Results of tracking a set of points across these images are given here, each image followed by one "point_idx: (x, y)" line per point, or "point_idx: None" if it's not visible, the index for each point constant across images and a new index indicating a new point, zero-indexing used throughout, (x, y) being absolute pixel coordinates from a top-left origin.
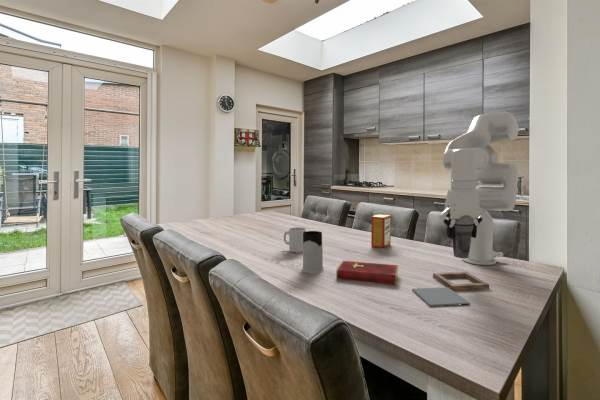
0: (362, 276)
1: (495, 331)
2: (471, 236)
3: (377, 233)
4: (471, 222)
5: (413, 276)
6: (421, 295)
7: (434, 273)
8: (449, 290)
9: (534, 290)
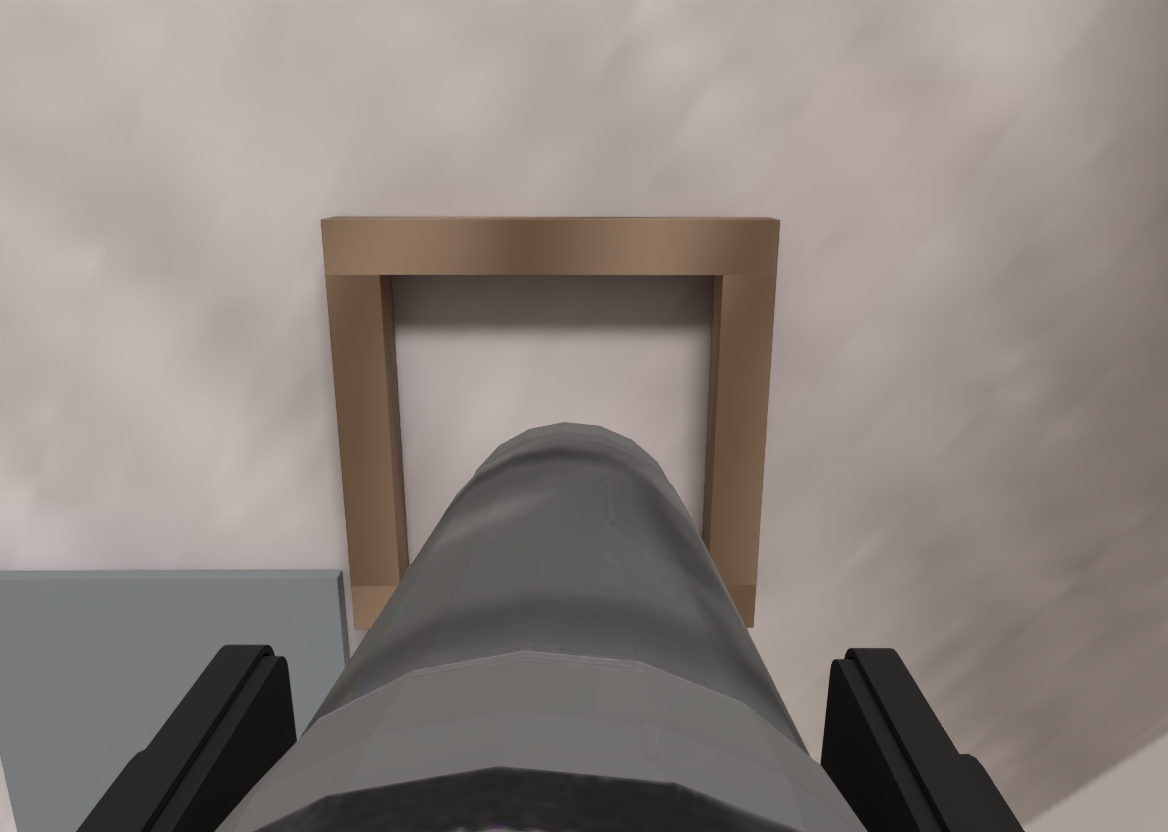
0: None
1: None
2: (825, 762)
3: None
4: None
5: (97, 162)
6: (10, 727)
7: (331, 237)
8: (315, 651)
9: (1127, 667)
